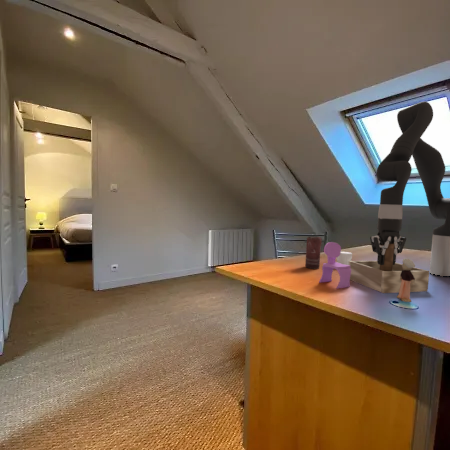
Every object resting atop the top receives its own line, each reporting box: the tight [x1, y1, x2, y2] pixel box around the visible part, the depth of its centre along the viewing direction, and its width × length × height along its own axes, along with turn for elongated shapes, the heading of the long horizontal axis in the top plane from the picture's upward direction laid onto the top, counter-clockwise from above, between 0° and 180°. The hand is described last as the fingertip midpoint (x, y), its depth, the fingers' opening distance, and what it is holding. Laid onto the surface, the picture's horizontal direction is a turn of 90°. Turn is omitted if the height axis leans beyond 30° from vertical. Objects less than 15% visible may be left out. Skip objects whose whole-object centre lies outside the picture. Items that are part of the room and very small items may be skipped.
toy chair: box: [318, 241, 351, 289], centre depth 101 cm, size 8×9×15 cm
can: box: [304, 236, 323, 270], centre depth 129 cm, size 6×6×14 cm
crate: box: [349, 260, 430, 294], centre depth 104 cm, size 18×18×7 cm
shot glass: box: [336, 250, 353, 265], centre depth 133 cm, size 7×7×7 cm
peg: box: [380, 244, 394, 271], centre depth 103 cm, size 4×4×12 cm
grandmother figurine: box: [396, 258, 416, 303], centre depth 86 cm, size 8×4×13 cm, turn 5°
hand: (386, 264), depth 103 cm, fingers closed on peg, 4 cm apart
